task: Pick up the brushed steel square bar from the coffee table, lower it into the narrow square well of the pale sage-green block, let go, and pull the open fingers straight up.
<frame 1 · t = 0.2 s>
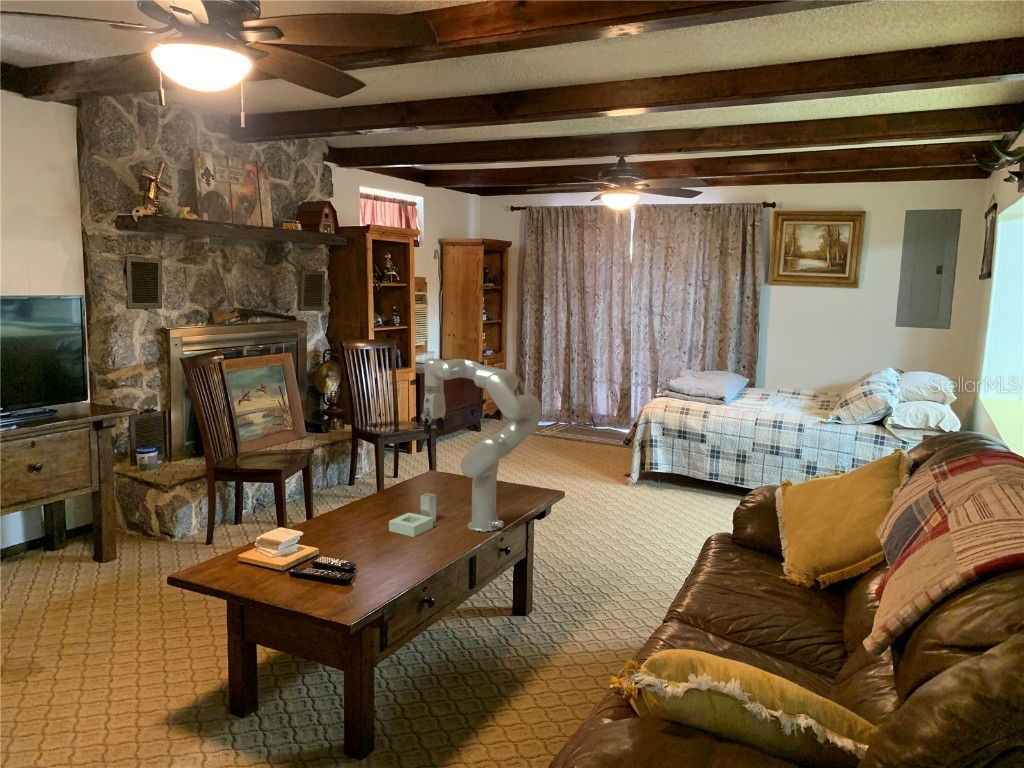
hand: (433, 431, 290), 36 cm above the table, tool pointing down, fingers open, 9 cm apart
steel bar: (428, 521, 289), on the table
well block: (411, 529, 280), on the table
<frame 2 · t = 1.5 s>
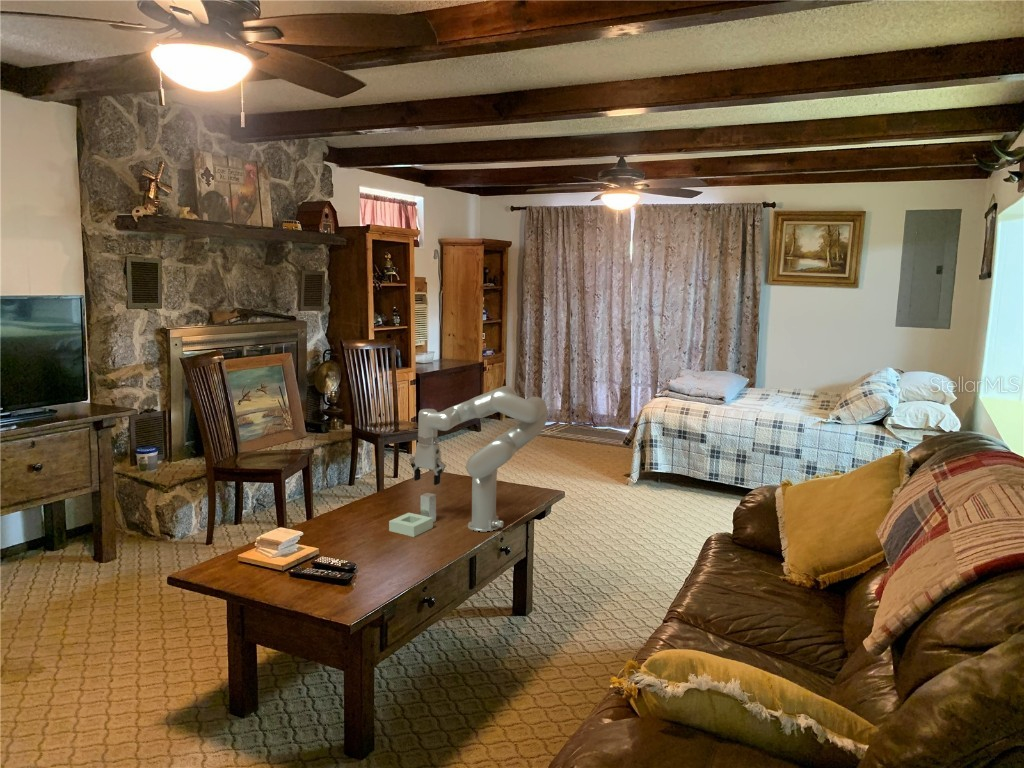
hand: (427, 482, 287), 16 cm above the table, tool pointing down, fingers open, 9 cm apart
nothing on the table moved.
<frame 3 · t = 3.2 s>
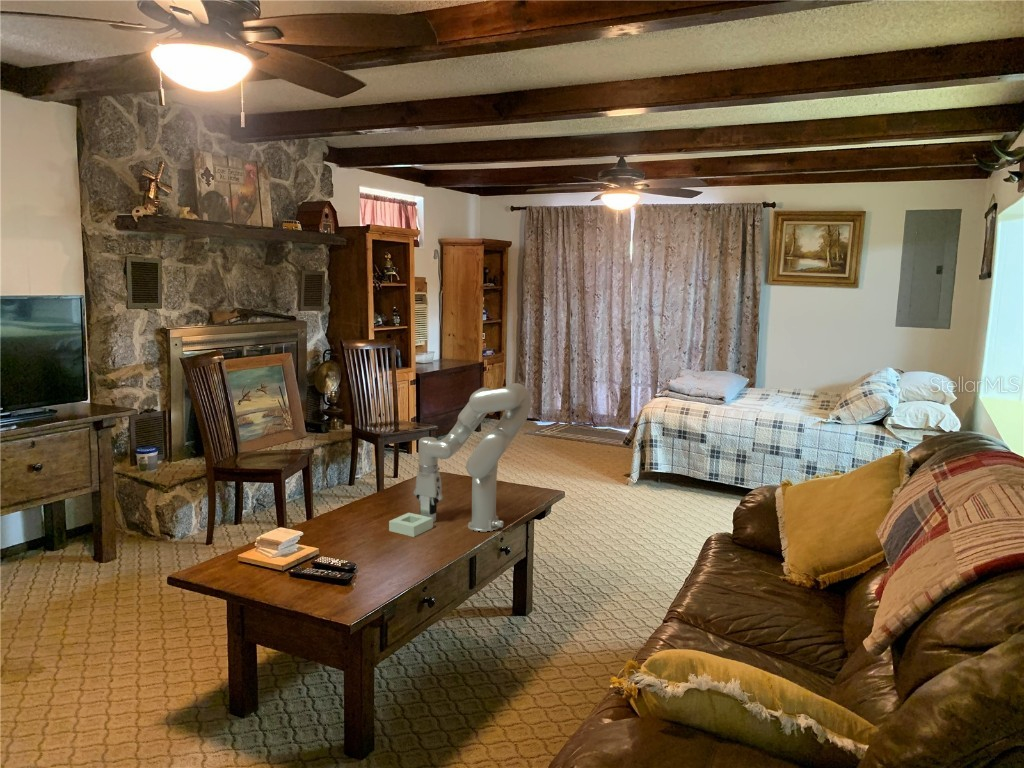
hand: (428, 512, 289), 4 cm above the table, tool pointing down, fingers closed on steel bar, 4 cm apart
steel bar: (428, 521, 289), on the table, touching gripper
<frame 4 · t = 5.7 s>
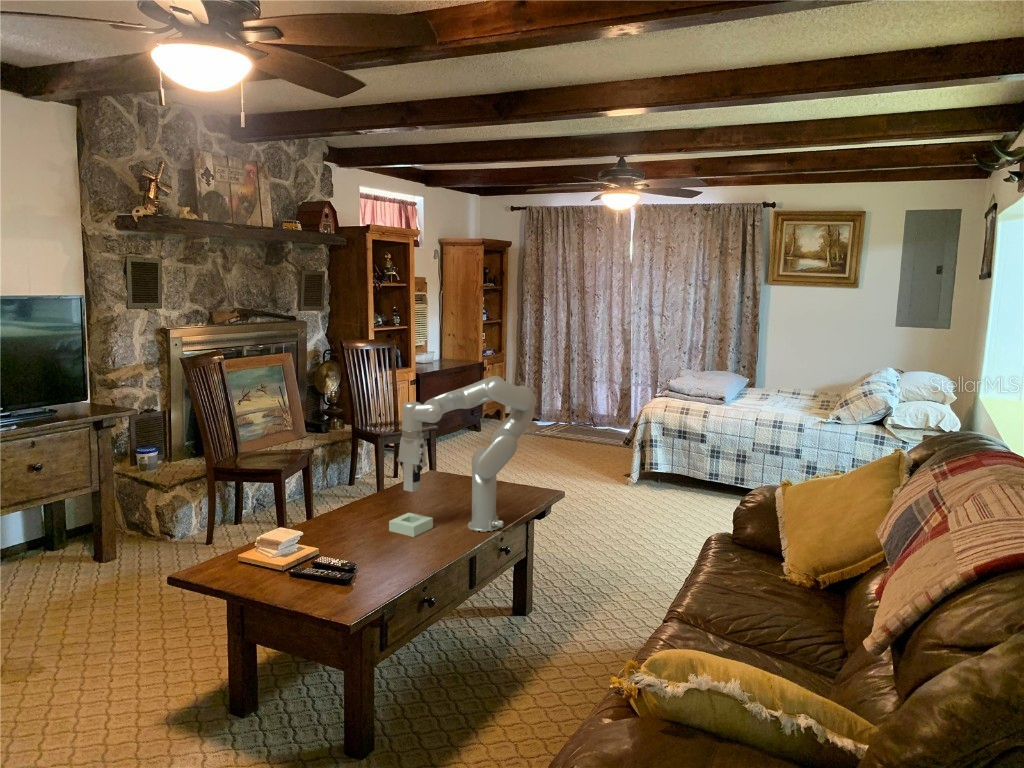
hand: (411, 480, 278), 20 cm above the table, tool pointing down, fingers closed on steel bar, 4 cm apart
steel bar: (411, 489, 278), point 16 cm above the table, touching gripper
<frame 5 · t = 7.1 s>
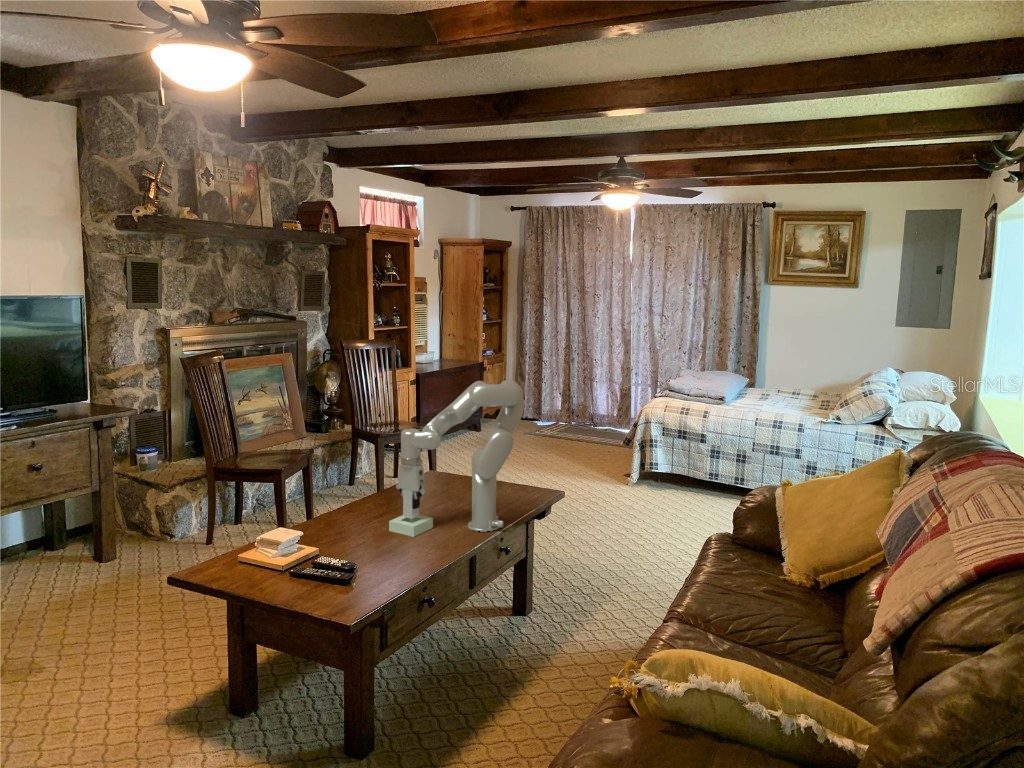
hand: (411, 506, 278), 9 cm above the table, tool pointing down, fingers closed on steel bar, 4 cm apart
steel bar: (411, 516, 279), point 5 cm above the table, touching gripper
when the fingers open (5 cm above the table, at t = 8.2 s): steel bar drops 1 cm, resting in well block.
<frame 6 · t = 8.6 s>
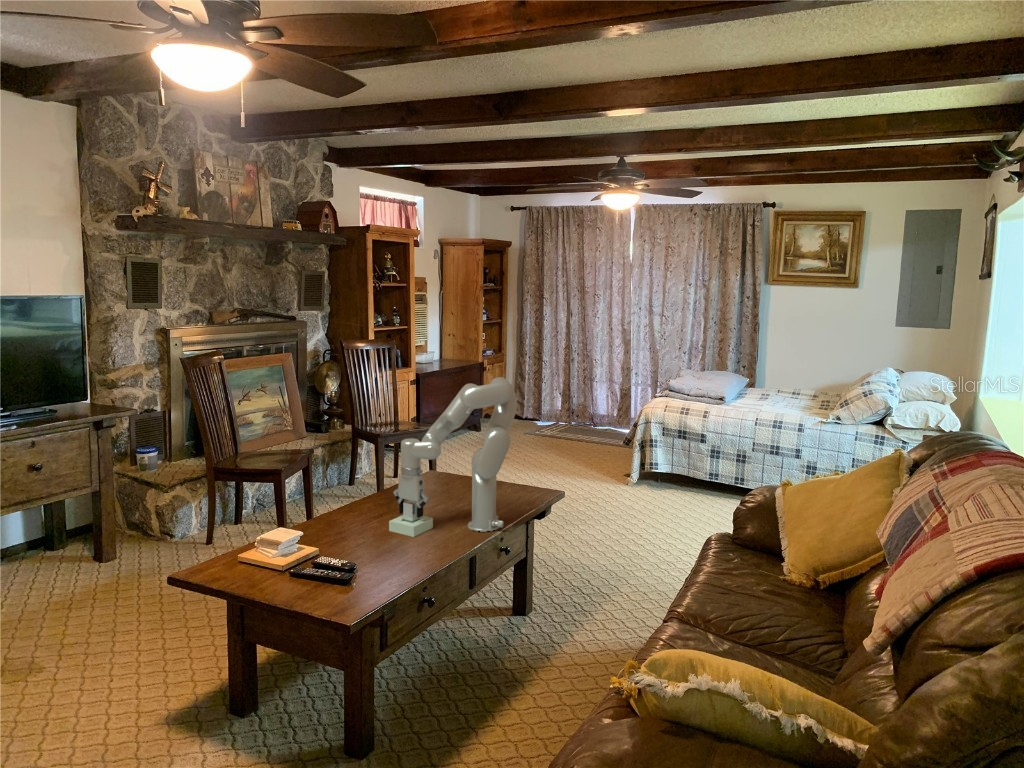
hand: (411, 514, 279), 6 cm above the table, tool pointing down, fingers open, 8 cm apart
steel bar: (411, 529, 280), resting in well block
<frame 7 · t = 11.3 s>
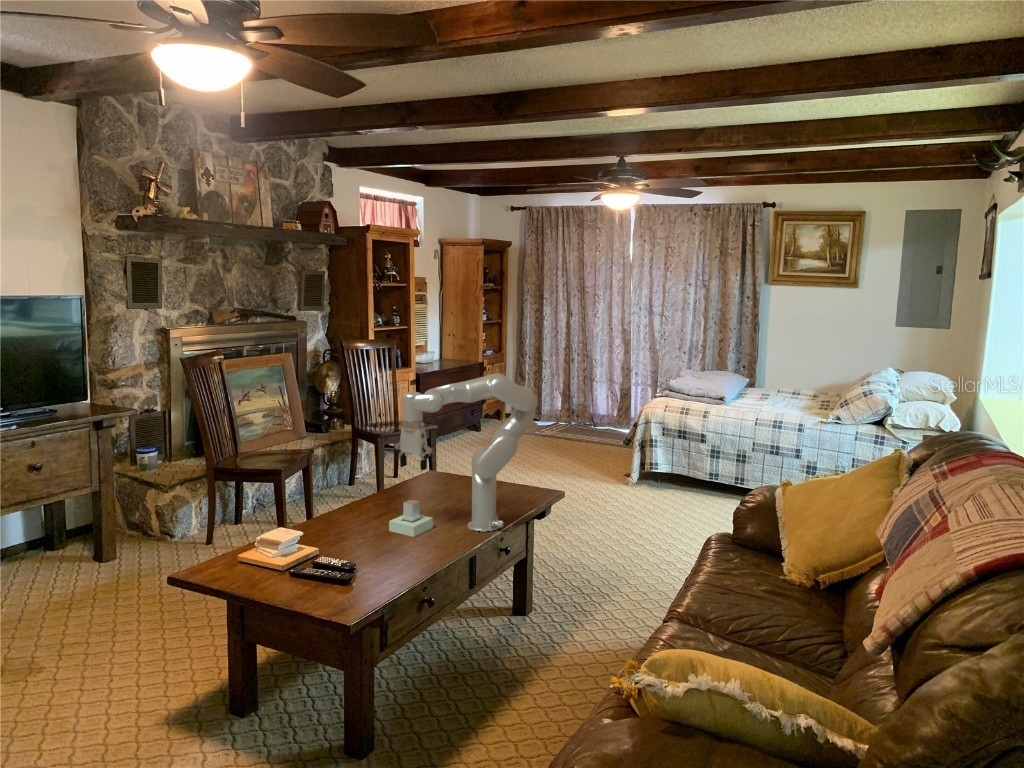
hand: (413, 467, 277), 24 cm above the table, tool pointing down, fingers open, 9 cm apart
nothing on the table moved.
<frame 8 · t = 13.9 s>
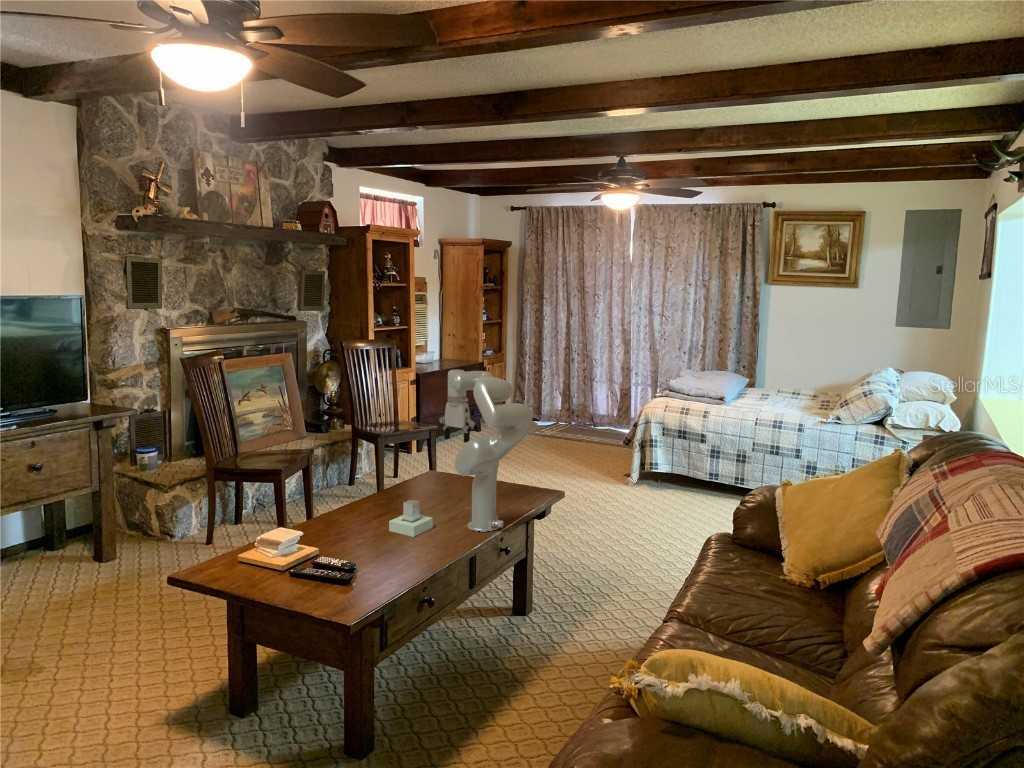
hand: (456, 440, 298), 30 cm above the table, tool pointing down, fingers open, 9 cm apart
nothing on the table moved.
at the end: steel bar 0.1 cm off-centre on the well block, point 0.0 cm above the well block's base; steel bar tilted 0°; the gripper is holding nothing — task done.
